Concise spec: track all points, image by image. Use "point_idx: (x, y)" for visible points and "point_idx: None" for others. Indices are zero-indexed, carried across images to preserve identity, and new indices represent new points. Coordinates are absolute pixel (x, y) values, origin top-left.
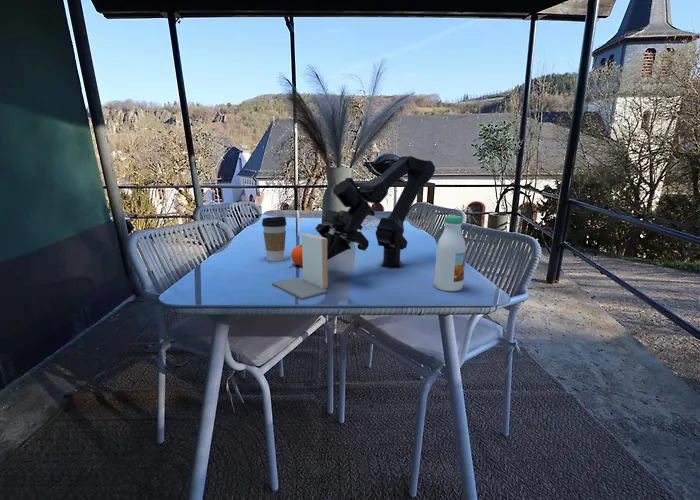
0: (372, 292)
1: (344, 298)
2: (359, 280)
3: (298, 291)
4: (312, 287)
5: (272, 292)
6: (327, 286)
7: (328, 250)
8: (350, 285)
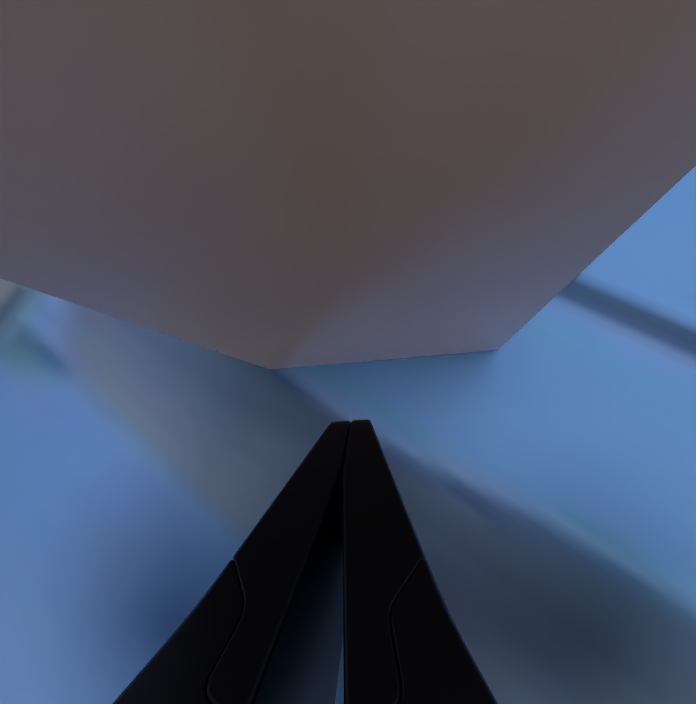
0: (38, 554)
1: (81, 352)
2: None
3: None
4: None
5: None
6: (265, 367)
7: (314, 512)
8: (213, 531)
